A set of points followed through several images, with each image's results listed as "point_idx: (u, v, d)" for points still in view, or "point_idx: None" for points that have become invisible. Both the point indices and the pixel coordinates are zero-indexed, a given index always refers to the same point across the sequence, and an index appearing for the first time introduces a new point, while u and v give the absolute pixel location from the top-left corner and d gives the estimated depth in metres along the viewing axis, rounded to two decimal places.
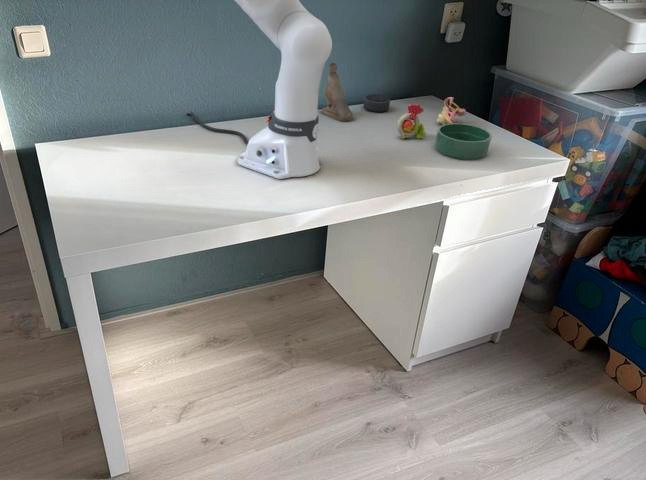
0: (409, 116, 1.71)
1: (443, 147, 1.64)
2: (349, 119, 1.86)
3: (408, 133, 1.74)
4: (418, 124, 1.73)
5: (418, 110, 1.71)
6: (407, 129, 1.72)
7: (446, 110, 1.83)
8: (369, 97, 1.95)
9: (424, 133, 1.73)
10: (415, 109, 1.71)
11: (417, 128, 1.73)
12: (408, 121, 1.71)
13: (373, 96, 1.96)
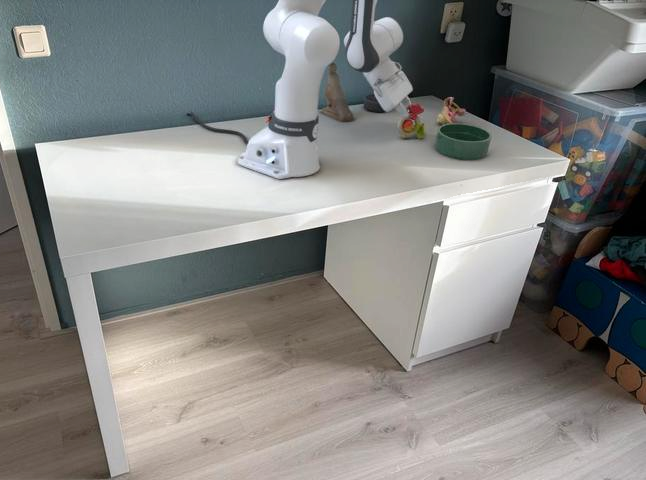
0: (409, 116, 1.71)
1: (443, 147, 1.64)
2: (349, 119, 1.86)
3: (409, 133, 1.74)
4: (419, 124, 1.73)
5: (419, 110, 1.70)
6: (407, 129, 1.72)
7: (446, 110, 1.83)
8: (369, 97, 1.95)
9: (424, 133, 1.73)
10: (416, 109, 1.70)
11: (418, 128, 1.73)
12: (408, 121, 1.71)
13: (373, 96, 1.96)
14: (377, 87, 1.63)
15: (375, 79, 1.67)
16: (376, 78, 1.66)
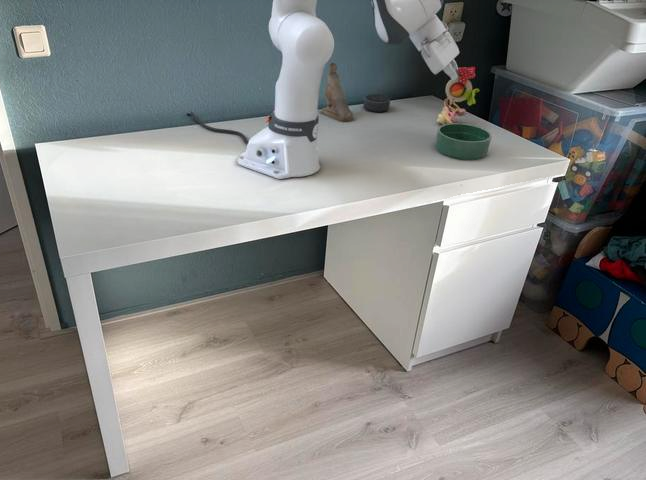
0: (458, 80, 1.59)
1: (443, 147, 1.64)
2: (349, 119, 1.86)
3: (457, 98, 1.62)
4: (469, 90, 1.59)
5: (469, 74, 1.57)
6: (454, 94, 1.61)
7: (446, 110, 1.83)
8: (369, 97, 1.95)
9: (473, 100, 1.59)
10: (466, 73, 1.57)
11: (467, 94, 1.60)
12: (457, 85, 1.59)
13: (373, 96, 1.96)
14: (425, 46, 1.50)
15: (422, 39, 1.54)
16: (423, 38, 1.54)
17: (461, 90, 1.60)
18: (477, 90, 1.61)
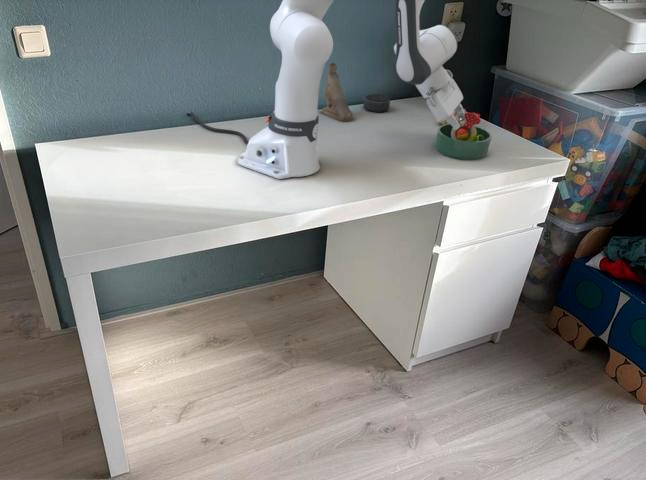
0: (464, 124, 1.65)
1: (443, 147, 1.64)
2: (349, 119, 1.86)
3: None
4: (474, 134, 1.65)
5: (475, 120, 1.64)
6: (459, 137, 1.66)
7: None
8: (369, 97, 1.95)
9: None
10: (472, 118, 1.64)
11: (472, 138, 1.66)
12: (462, 129, 1.65)
13: (373, 96, 1.96)
14: (431, 96, 1.55)
15: (427, 88, 1.59)
16: (428, 87, 1.59)
17: (466, 134, 1.66)
18: (481, 136, 1.67)
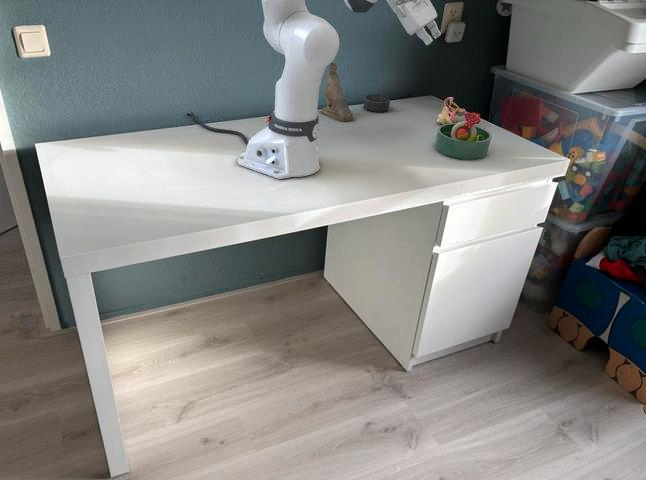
0: (464, 124, 1.65)
1: (443, 147, 1.64)
2: (349, 119, 1.86)
3: None
4: (474, 134, 1.65)
5: (475, 120, 1.64)
6: (459, 137, 1.66)
7: (446, 110, 1.83)
8: (369, 97, 1.95)
9: None
10: (472, 118, 1.64)
11: (472, 138, 1.66)
12: (462, 129, 1.65)
13: (373, 96, 1.96)
14: (400, 6, 1.47)
15: None
16: None
17: (466, 134, 1.66)
18: (481, 136, 1.67)
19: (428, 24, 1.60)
